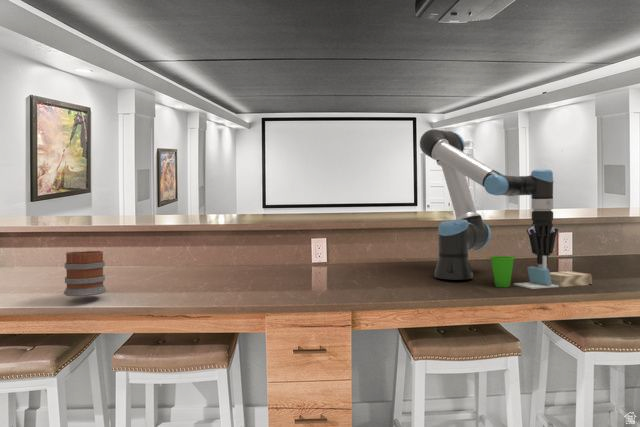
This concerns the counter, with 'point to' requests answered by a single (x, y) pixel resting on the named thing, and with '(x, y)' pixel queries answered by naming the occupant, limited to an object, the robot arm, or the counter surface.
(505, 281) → the cup
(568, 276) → the light wood flat block
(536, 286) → the mat
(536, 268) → the card
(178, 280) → the counter surface
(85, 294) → the mug
